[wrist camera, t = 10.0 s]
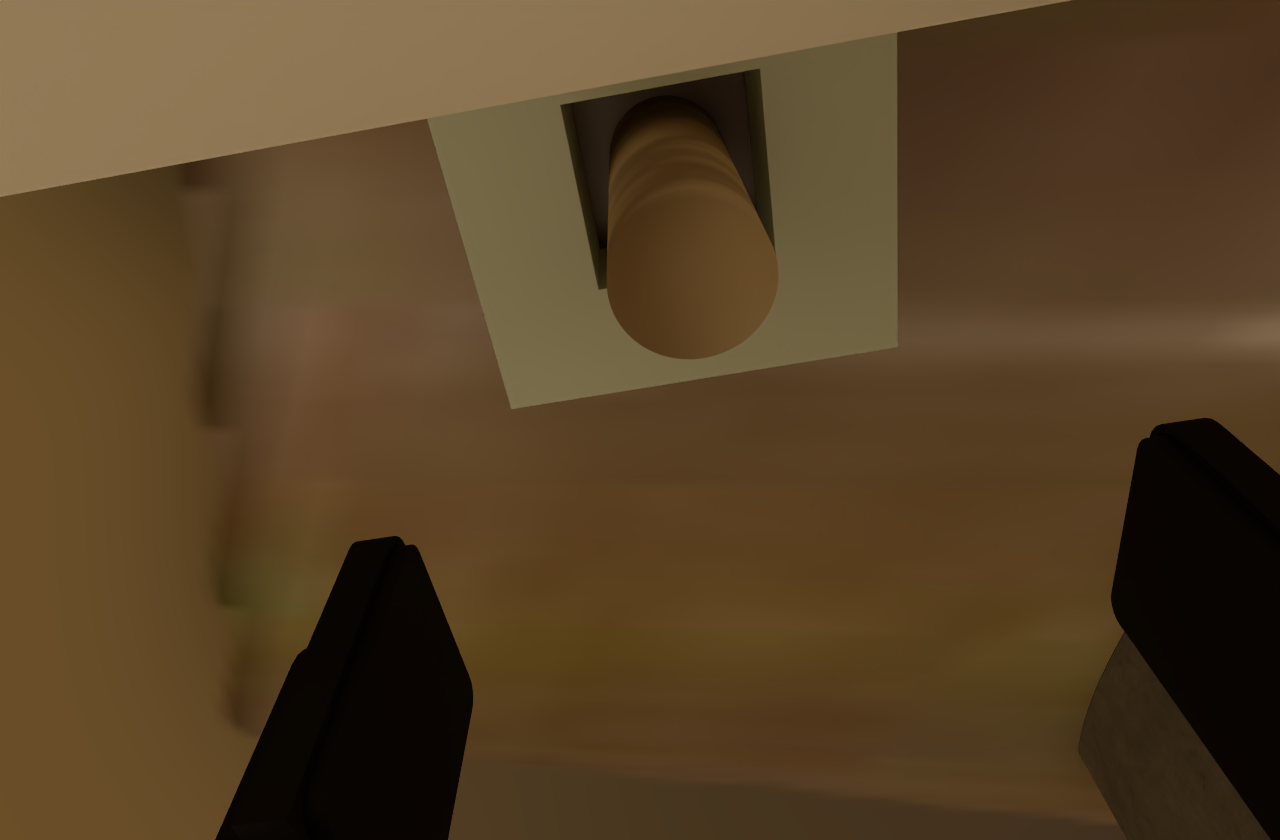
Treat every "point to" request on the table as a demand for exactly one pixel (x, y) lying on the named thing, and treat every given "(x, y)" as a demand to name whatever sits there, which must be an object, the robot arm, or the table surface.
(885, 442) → the table surface
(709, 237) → the peg
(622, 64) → the socket block
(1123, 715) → the hip flask
